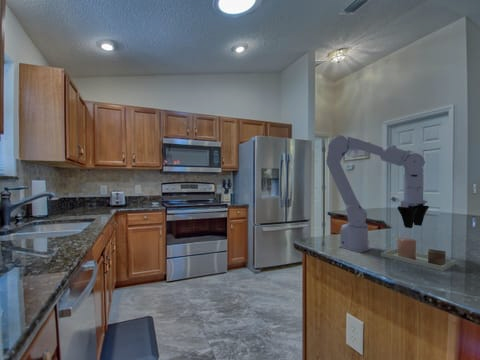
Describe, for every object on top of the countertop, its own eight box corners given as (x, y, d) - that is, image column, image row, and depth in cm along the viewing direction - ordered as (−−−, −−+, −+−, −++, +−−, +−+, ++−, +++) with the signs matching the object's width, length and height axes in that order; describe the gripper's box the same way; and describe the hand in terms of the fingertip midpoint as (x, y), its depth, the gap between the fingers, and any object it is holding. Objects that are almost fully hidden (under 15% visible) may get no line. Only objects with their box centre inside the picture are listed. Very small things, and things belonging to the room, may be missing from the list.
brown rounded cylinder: (395, 257, 86) (395, 239, 86) (401, 254, 89) (401, 237, 89) (412, 261, 82) (412, 242, 82) (418, 258, 85) (418, 240, 85)
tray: (380, 258, 87) (380, 252, 87) (395, 253, 93) (395, 248, 93) (443, 273, 73) (443, 266, 73) (455, 266, 79) (455, 260, 79)
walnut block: (428, 264, 78) (428, 251, 78) (429, 261, 81) (429, 249, 81) (444, 267, 76) (445, 254, 76) (445, 264, 79) (445, 251, 79)
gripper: (417, 188, 83) (417, 230, 83) (434, 187, 92) (434, 226, 92) (394, 188, 89) (394, 227, 89) (412, 187, 97) (412, 223, 98)
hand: (413, 226), depth 91 cm, fingers open, 7 cm apart
